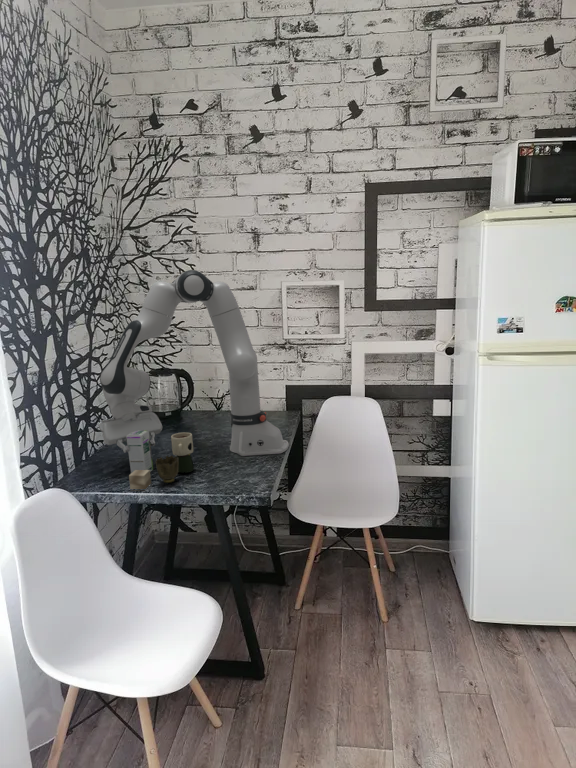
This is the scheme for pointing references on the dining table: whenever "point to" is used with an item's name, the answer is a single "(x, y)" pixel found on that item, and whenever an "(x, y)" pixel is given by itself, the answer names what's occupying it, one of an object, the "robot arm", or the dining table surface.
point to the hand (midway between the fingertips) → (140, 448)
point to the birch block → (140, 479)
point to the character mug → (183, 450)
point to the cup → (167, 468)
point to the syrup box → (139, 450)
